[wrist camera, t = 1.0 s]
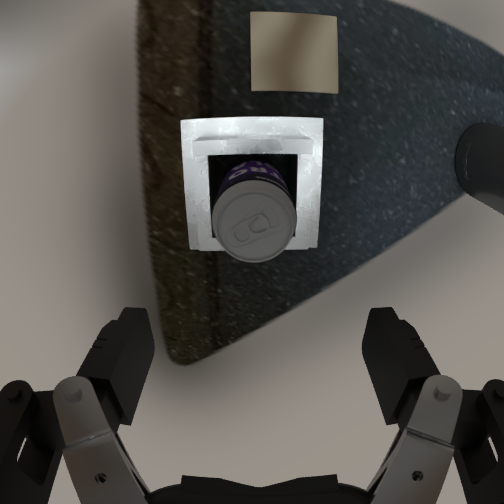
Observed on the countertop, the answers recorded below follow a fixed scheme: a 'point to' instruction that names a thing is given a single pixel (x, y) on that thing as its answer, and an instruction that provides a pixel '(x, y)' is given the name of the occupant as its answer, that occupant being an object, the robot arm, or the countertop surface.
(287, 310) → the countertop surface
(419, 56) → the countertop surface
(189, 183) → the sleeve
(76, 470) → the robot arm
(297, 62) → the birch pad
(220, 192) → the beverage can
